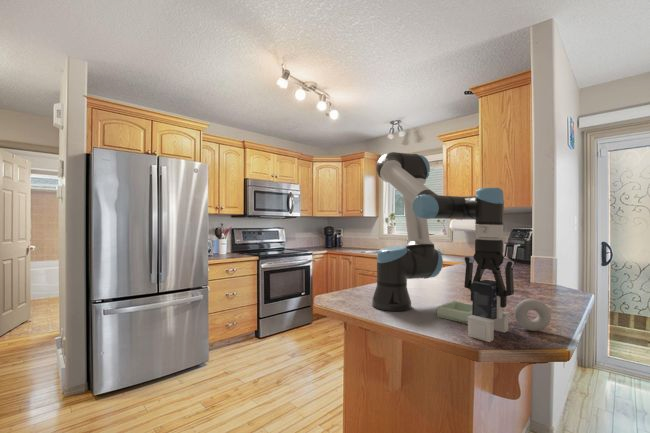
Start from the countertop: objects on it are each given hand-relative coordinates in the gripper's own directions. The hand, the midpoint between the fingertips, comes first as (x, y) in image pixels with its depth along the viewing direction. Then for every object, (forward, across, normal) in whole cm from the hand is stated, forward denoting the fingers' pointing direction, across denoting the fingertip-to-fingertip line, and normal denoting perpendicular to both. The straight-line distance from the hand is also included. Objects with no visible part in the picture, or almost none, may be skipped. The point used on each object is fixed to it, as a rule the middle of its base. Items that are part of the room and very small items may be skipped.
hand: (487, 314), depth 93 cm
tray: (+6, -13, +10) cm, 17 cm away
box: (+1, 0, 0) cm, 1 cm away
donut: (+6, +8, +13) cm, 16 cm away
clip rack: (+5, 0, 0) cm, 5 cm away
